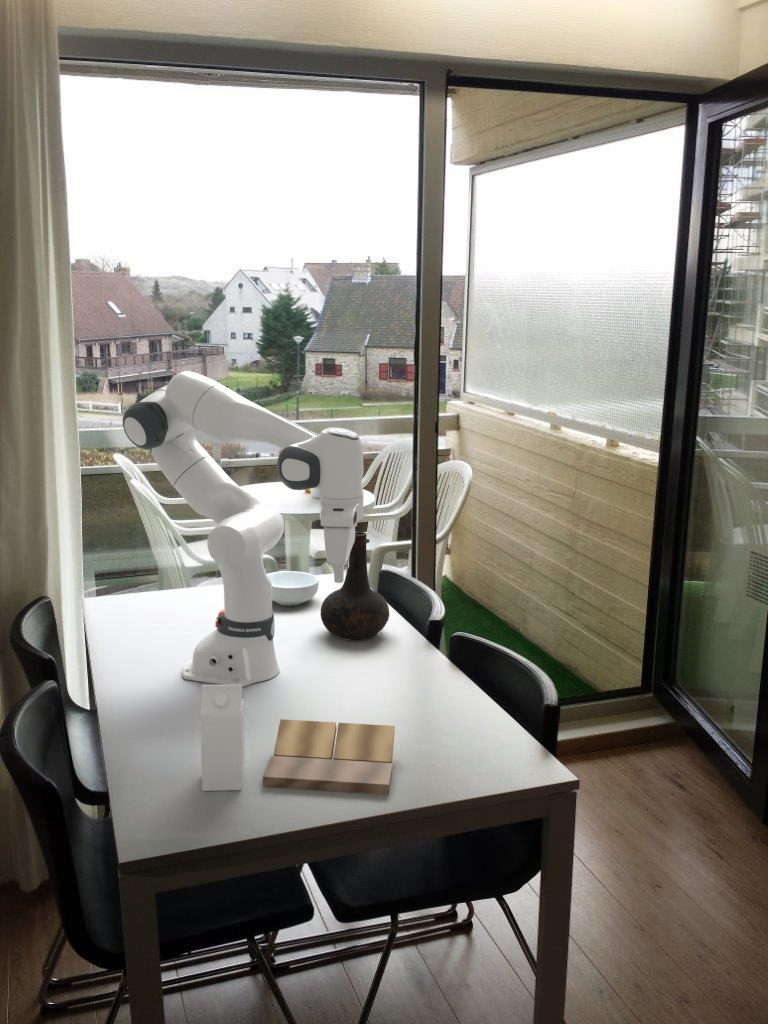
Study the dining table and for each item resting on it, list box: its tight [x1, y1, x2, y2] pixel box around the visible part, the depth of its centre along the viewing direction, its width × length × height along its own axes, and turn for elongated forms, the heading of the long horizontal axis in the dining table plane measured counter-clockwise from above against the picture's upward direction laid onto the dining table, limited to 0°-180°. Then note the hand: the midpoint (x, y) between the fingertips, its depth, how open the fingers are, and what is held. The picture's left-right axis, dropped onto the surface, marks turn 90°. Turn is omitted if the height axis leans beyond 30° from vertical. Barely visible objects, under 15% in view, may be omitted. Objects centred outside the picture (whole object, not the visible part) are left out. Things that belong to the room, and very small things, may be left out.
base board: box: [262, 755, 393, 795], centre depth 172 cm, size 23×8×2 cm, turn 85°
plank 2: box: [332, 722, 396, 764], centre depth 180 cm, size 11×8×2 cm
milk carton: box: [199, 684, 245, 792], centre depth 169 cm, size 7×7×19 cm
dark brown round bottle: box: [320, 531, 390, 642], centre depth 243 cm, size 18×18×28 cm
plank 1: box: [273, 718, 338, 759], centre depth 180 cm, size 11×8×2 cm
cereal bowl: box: [266, 570, 320, 607], centre depth 272 cm, size 17×17×7 cm
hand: (341, 575), depth 190 cm, fingers open, 8 cm apart
